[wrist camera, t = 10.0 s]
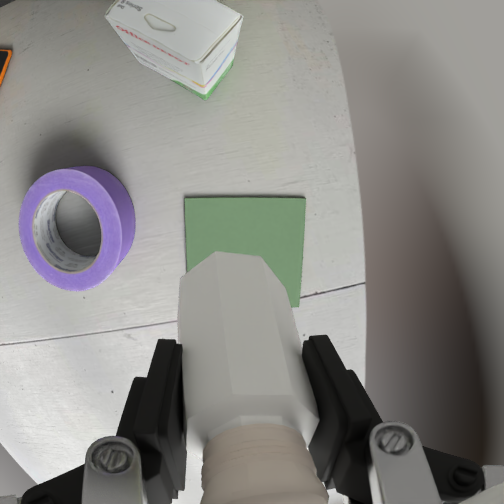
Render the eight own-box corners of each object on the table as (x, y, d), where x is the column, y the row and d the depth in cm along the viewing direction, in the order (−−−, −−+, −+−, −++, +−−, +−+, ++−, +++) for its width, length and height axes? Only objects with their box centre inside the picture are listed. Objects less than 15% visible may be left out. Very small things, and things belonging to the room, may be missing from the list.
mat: (305, 198, 31) (305, 198, 31) (298, 306, 35) (299, 307, 34) (184, 197, 30) (184, 198, 30) (190, 308, 34) (189, 310, 33)
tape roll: (148, 262, 32) (137, 280, 27) (60, 282, 31) (40, 300, 27) (121, 151, 28) (103, 151, 23) (32, 183, 28) (6, 189, 23)
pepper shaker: (159, 265, 14) (81, 475, 4) (273, 234, 14) (402, 411, 4) (195, 358, 16) (194, 558, 5) (294, 332, 16) (380, 518, 6)
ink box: (138, 62, 26) (96, 18, 14) (169, 24, 25) (145, -34, 13) (206, 102, 28) (196, 70, 16) (237, 63, 27) (246, 13, 15)
